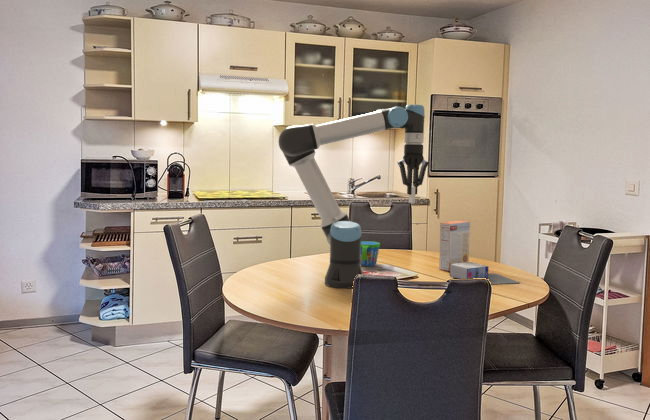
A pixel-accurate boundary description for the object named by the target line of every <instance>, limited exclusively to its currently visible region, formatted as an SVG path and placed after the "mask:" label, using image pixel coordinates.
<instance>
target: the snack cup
mask: <svg viewBox="0 0 650 420" xmlns="http://www.w3.org/2000/svg"><path fill="white" fill-rule="evenodd" d="M380 248H381V243H380V242H377V241H370V240H369V241H366V240H365V241H364V240H363V241H362V240H361V254H360V265H361V267H362V266H363V267H375V266H376V265H377V263H378V256H379V251H380Z"/></svg>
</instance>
